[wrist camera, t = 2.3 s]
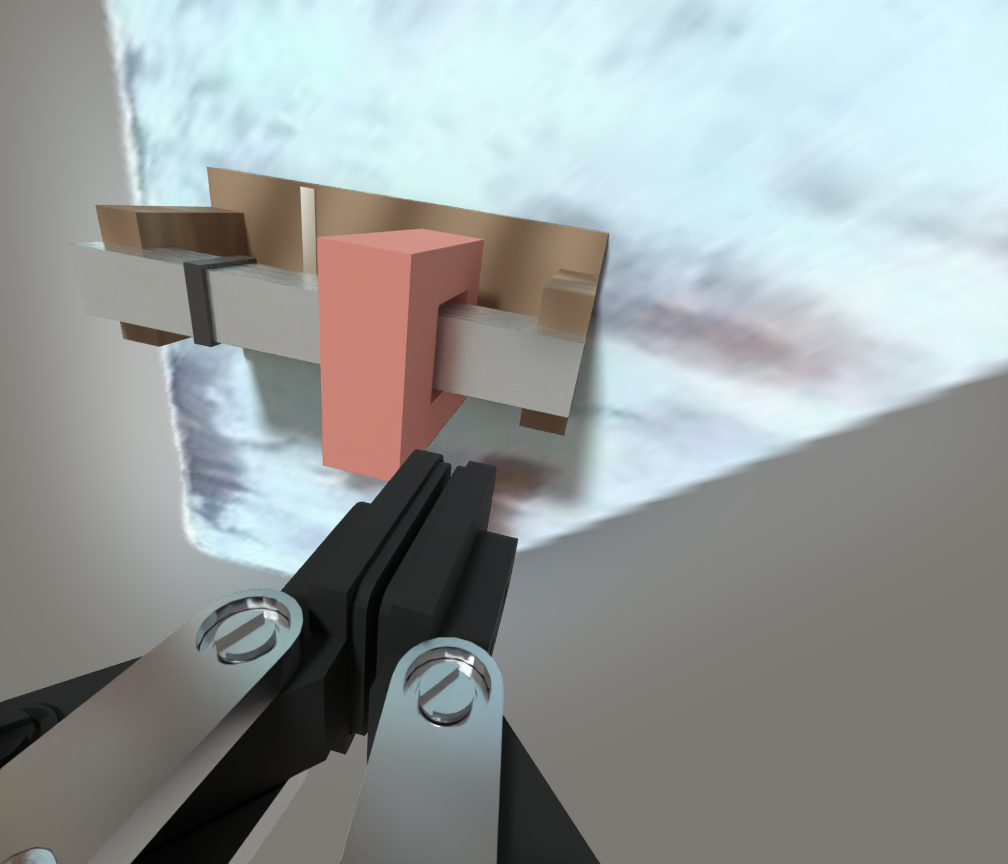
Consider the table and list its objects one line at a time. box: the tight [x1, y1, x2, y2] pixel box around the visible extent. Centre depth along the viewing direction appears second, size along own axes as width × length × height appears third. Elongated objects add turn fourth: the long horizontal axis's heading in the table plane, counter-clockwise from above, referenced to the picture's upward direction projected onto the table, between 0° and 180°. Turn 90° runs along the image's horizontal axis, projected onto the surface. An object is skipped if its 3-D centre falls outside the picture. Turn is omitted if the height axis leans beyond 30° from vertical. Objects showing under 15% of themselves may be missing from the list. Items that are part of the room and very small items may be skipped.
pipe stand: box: [96, 167, 609, 435], centre depth 24 cm, size 22×10×8 cm, turn 81°
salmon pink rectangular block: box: [317, 229, 484, 481], centre depth 20 cm, size 3×8×9 cm, turn 171°
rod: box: [70, 242, 586, 418], centre depth 21 cm, size 22×3×3 cm, turn 81°
